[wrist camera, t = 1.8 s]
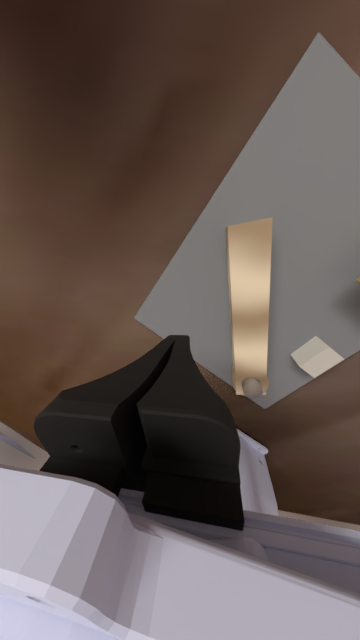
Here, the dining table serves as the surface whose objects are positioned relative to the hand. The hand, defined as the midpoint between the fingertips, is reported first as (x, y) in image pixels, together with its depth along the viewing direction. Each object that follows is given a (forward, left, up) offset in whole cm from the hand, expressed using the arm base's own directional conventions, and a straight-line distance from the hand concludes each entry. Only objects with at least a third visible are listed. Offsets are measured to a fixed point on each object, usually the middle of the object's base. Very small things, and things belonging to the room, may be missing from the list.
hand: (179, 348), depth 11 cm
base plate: (-6, -7, -8) cm, 12 cm away
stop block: (-12, -4, -8) cm, 15 cm away
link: (-5, -3, -7) cm, 9 cm away
